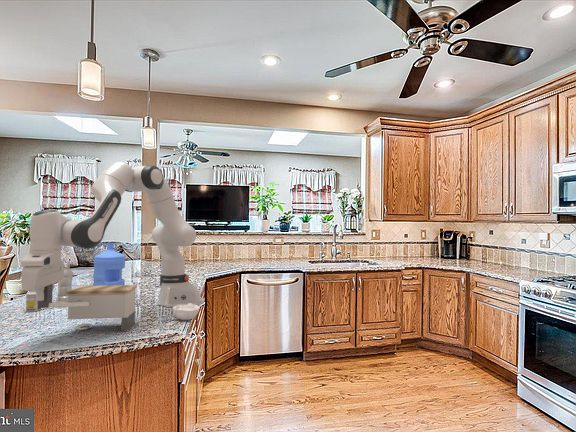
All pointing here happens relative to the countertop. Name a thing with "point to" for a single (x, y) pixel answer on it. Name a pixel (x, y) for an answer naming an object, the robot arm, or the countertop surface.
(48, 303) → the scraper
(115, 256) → the water jug
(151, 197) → the robot arm
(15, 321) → the countertop surface
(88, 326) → the steel token
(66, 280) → the plastic bottle
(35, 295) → the supplement bottle
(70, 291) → the low cabinet
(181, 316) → the bowl of rice
